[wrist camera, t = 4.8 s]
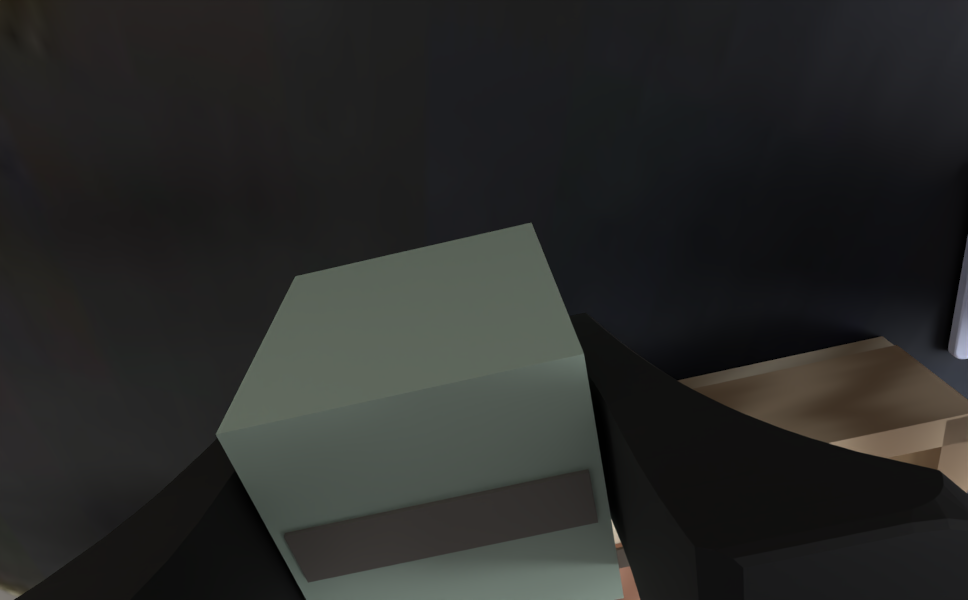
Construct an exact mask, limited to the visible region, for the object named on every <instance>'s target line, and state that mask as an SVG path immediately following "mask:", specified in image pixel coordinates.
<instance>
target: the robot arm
mask: <svg viewBox="0 0 968 600" xmlns="http://www.w3.org/2000/svg"><path fill="white" fill-rule="evenodd" d="M569 318H570V320H571V323H572V325H573V328H574V330H575V333H576V335H577V338H578V340H579V343H580V345H581V348H582V350H583V353H584V357H585V363H586V369H587V375H588V381H589V388H590V394H591V400H592V406H593V412H594V418H595V424H596V430H597V436H598V443H599V449H600V455H601V461H602V467H603V473H604V479H605V485H606V491H607V497H608V504H609V510H610V516H611V520H612V522H613V525H614V527H615V529H616V532H617V534H618V537H619V539H620V541H621V544H622V546H623V549H624V552H625V554H626V557H627V560H628V563H629V565H630V568H631V571H632V574H633V577H634V581H635V584H636V587H637V590H638V594H639V597H640V600H968V494H967V493H966V492H965V491H964V490H962V489H961V488H960V487H959V486H958V485H956V484H955V483H954V482H953V481H952V480H950V479H949V478H948V477H947V476H946V475H944V474H943V473H942V472H941V471H940V470H936V469H932V468H928V467H923V466H919V465H914V464H910V463H905V462H901V461H897V460H892V459H888V458H883V457H879V456H874V455H870V454H866V453H861V452H857V451H854V450H850V449H846V448H843V447H840V446H836V445H833V444H829V443H826V442H823V441H819V440H816V439H812V438H809V437H806V436H803V435H800V434H797V433H794V432H791V431H788V430H785V429H782V428H780V427H777V426H774V425H772V424H769V423H767V422H764V421H762V420H759V419H756V418H754V417H751V416H749V415H746V414H744V413H741V412H739V411H737V410H734V409H732V408H730V407H728V406H725V405H723V404H721V403H719V402H717V401H715V400H713V399H711V398H709V397H707V396H705V395H703V394H701V393H699V392H697V391H695V390H693V389H691V388H690V387H688V386H686V385H684V384H682V383H681V382H679V381H677V380H676V379H674V378H673V377H671V376H669V375H668V374H666V373H664V372H663V371H661V370H660V369H658V368H657V367H655V366H654V365H652V364H651V363H650V362H648V361H647V360H645V359H644V358H643V357H641V356H640V355H638V354H637V353H636V352H634V351H633V350H631V349H630V348H629V347H627V346H626V345H625V344H623V343H622V342H621V341H620V340H618V339H617V338H616V337H615V336H613V335H612V334H611V333H610V332H609V331H607V330H606V329H605V328H604V327H603V326H601V325H600V324H599V323H598V322H597V321H596V320H595V319H593V318H592V317H591V316H590V315H588V314H586V313H582V314H577V315H573V316H569ZM948 351H949V352H950V354H952V355H953V356H954V357H956V358H958V359H968V236H967V242H966V248H965V253H964V259H963V265H962V271H961V276H960V282H959V288H958V294H957V299H956V305H955V311H954V316H953V322H952V328H951V334H950V339H949V345H948ZM15 600H306V598H305V597H304V595H303V593H302V591H301V589H300V587H299V586H298V584H297V582H296V580H295V578H294V576H293V575H292V573H291V571H290V569H289V567H288V565H287V564H286V562H285V560H284V558H283V556H282V554H281V553H280V551H279V549H278V547H277V545H276V544H275V542H274V540H273V538H272V536H271V534H270V533H269V531H268V529H267V527H266V525H265V523H264V522H263V520H262V518H261V516H260V514H259V512H258V511H257V509H256V507H255V505H254V503H253V502H252V500H251V498H250V496H249V494H248V492H247V491H246V489H245V487H244V485H243V483H242V481H241V480H240V478H239V476H238V474H237V472H236V470H235V469H234V467H233V465H232V463H231V461H230V459H229V458H228V456H227V454H226V452H225V450H224V449H223V447H222V445H221V443H220V441H219V439H218V438H217V439H216V440H215V441H214V442H213V443H212V444H211V445H210V446H209V447H208V448H207V449H206V450H205V451H204V452H203V453H202V454H201V455H200V456H199V457H198V458H197V459H195V460H194V461H193V462H192V463H191V464H190V465H189V466H188V467H187V468H186V469H185V470H184V471H183V472H182V473H180V474H179V475H178V476H177V477H176V478H175V479H174V480H173V481H172V482H171V483H170V484H169V485H168V486H166V487H165V488H164V489H163V490H162V491H161V492H160V493H159V494H157V495H156V496H155V497H154V498H153V499H152V500H150V501H149V502H148V503H147V504H146V505H145V506H143V507H142V508H141V509H140V510H139V511H137V512H136V513H135V514H134V515H132V516H131V517H130V518H129V519H127V520H126V521H125V522H123V523H122V524H121V525H120V526H118V527H117V528H116V529H115V530H113V531H112V532H111V533H110V534H108V535H107V536H106V537H104V538H103V539H102V540H100V541H99V542H98V543H96V544H95V545H93V546H92V547H91V548H89V549H88V550H86V551H85V552H83V553H82V554H81V555H79V556H78V557H76V558H75V559H74V560H72V561H71V562H69V563H68V564H66V565H65V566H64V567H62V568H61V569H59V570H58V571H57V572H55V573H54V574H52V575H51V576H49V577H48V578H47V579H45V580H44V581H42V582H41V583H39V584H38V585H36V586H35V587H33V588H32V589H30V590H29V591H27V592H25V593H24V594H22V595H21V596H19V597H18V598H16V599H15Z"/></svg>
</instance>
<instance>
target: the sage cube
mask: <svg viewBox="0 0 968 600" xmlns="http://www.w3.org/2000/svg"><path fill="white" fill-rule="evenodd" d="M216 436H217V438H218V439H219V441H220V443H221V445H222V447H223V449H224V450H225V452H226V454H227V456H228V458H229V459H230V461H231V463H232V465H233V467H234V469H235V470H236V472H237V474H238V476H239V478H240V480H241V481H242V483H243V485H244V487H245V489H246V491H247V492H248V494H249V496H250V498H251V500H252V502H253V503H254V505H255V507H256V509H257V511H258V512H259V514H260V516H261V518H262V520H263V522H264V523H265V525H266V527H267V529H268V531H269V533H270V534H271V536H272V538H273V540H274V542H275V544H276V545H277V547H278V549H279V551H280V553H281V554H282V556H283V558H284V560H285V562H286V564H287V565H288V567H289V569H290V571H291V573H292V575H293V576H294V578H295V580H296V582H297V584H298V586H299V587H300V589H301V591H302V593H303V595H304V597H305V598H306V600H617V599H622V598H624V595H623V589H622V583H621V577H620V571H619V565H618V559H617V552H616V546H615V540H614V534H613V528H612V522H611V516H610V510H609V504H608V497H607V491H606V485H605V479H604V473H603V467H602V461H601V455H600V449H599V443H598V436H597V430H596V424H595V418H594V412H593V406H592V400H591V394H590V388H589V381H588V375H587V369H586V363H585V357H584V353H583V350H582V348H581V345H580V343H579V340H578V338H577V335H576V333H575V330H574V328H573V325H572V323H571V320H570V318H569V315H568V313H567V310H566V308H565V305H564V303H563V300H562V298H561V295H560V293H559V290H558V288H557V285H556V283H555V280H554V278H553V275H552V273H551V270H550V268H549V265H548V263H547V260H546V258H545V255H544V253H543V250H542V248H541V245H540V243H539V240H538V238H537V235H536V233H535V230H534V228H533V225H532V223H528V224H523V225H519V226H514V227H510V228H506V229H501V230H497V231H492V232H488V233H484V234H479V235H475V236H471V237H466V238H462V239H457V240H453V241H449V242H444V243H440V244H435V245H431V246H427V247H422V248H418V249H414V250H409V251H405V252H400V253H396V254H392V255H387V256H383V257H378V258H374V259H370V260H365V261H361V262H356V263H352V264H348V265H343V266H339V267H335V268H330V269H326V270H321V271H317V272H313V273H308V274H304V275H299V276H295V278H294V280H293V282H292V284H291V286H290V288H289V290H288V292H287V294H286V296H285V298H284V300H283V302H282V304H281V306H280V308H279V310H278V312H277V314H276V316H275V318H274V320H273V322H272V324H271V326H270V328H269V330H268V332H267V334H266V336H265V338H264V340H263V342H262V344H261V346H260V348H259V350H258V352H257V353H256V355H255V357H254V359H253V361H252V363H251V365H250V367H249V369H248V371H247V373H246V375H245V377H244V379H243V381H242V383H241V385H240V387H239V389H238V391H237V393H236V395H235V397H234V399H233V401H232V403H231V405H230V407H229V409H228V411H227V413H226V415H225V417H224V419H223V421H222V423H221V425H220V427H219V429H218V431H217V433H216Z"/></svg>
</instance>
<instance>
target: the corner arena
mask: <svg viewBox="0 0 968 600" xmlns="http://www.w3.org/2000/svg"><path fill="white" fill-rule="evenodd" d="M677 381H679V382H681V383H682V384H684V385H686V386H688V387H690V388H691V389H693V390H695V391H697V392H699V393H701V394H703V395H705V396H707V397H709V398H711V399H713V400H715V401H717V402H719V403H721V404H723V405H725V406H728V407H730V408H732V409H734V410H737V411H739V412H741V413H744V414H746V415H749V416H751V417H754V418H756V419H759V420H762V421H764V422H767V423H769V424H772V425H774V426H777V427H780V428H782V429H785V430H788V431H791V432H794V433H797V434H800V435H803V436H806V437H809V438H812V439H816V440H819V441H823V442H826V443H829V444H833V445H836V446H840V447H843V448H846V449H850V450H854V451H857V452H861V453H866V454H870V455H874V456H879V457H883V458H888V459H892V460H897V461H901V462H905V463H910V464H914V465H919V466H923V467H928V468H932V469H936V470H940V471H941V472H942V473H943V474H944V475H946V476H947V477H948V478H949V479H950V480H952V481H953V482H954V483H955V484H956V485H958V486H959V487H960V488H961V489H962V490H964V491H965V492H966V493H967V490H968V399H966V398H965V397H964V396H962V395H961V394H960V393H958V392H957V391H956V390H955V389H953V388H952V387H951V386H949V385H948V384H947V383H946V382H944V381H943V380H942V379H940V378H939V377H938V376H936V375H935V374H934V373H933V372H931V371H930V370H929V369H927V368H926V367H925V366H923V365H922V364H921V363H920V362H918V361H917V360H916V359H914V358H913V357H912V356H911V355H909V354H908V353H907V352H905V351H904V350H903V349H901V348H900V347H899V346H897V345H893V344H892V343H890V342H889V341H888V340H886V339H885V338H884V337H883V336H881V337H877V338H872V339H868V340H863V341H858V342H854V343H849V344H844V345H840V346H835V347H830V348H826V349H821V350H817V351H812V352H807V353H803V354H798V355H793V356H789V357H784V358H779V359H775V360H770V361H765V362H761V363H756V364H752V365H747V366H742V367H738V368H733V369H728V370H724V371H719V372H714V373H710V374H705V375H701V376H696V377H691V378H687V379H682V380H677ZM611 522H612V520H611ZM612 528H613V534H614V540H615V546H616V552H617V559H618V565H619V571H620V577H621V583H622V589H623V595H624V598H622V599H617V600H640V597H639V594H638V590H637V587H636V584H635V581H634V577H633V574H632V571H631V568H630V565H629V563H628V560H627V557H626V554H625V552H624V549H623V546H622V544H621V541H620V539H619V537H618V534H617V532H616V529H615V527H614V525H613V522H612Z"/></svg>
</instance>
